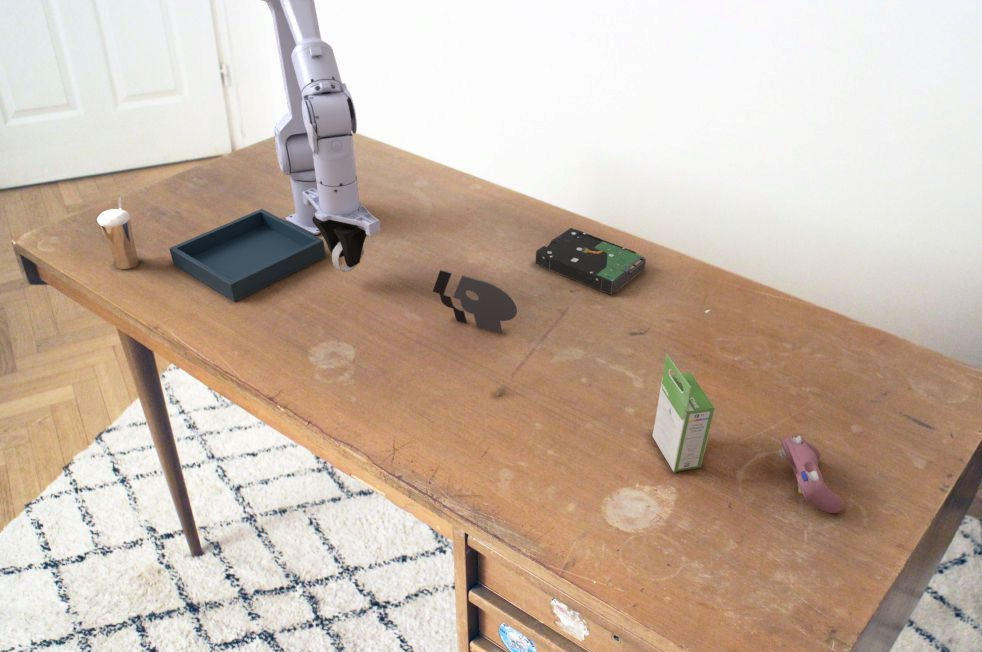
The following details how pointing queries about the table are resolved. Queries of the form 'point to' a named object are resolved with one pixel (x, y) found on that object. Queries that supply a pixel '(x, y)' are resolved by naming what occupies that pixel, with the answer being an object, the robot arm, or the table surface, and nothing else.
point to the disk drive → (590, 260)
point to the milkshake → (119, 236)
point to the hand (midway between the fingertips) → (346, 260)
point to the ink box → (682, 419)
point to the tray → (247, 254)
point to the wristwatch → (337, 262)
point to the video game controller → (809, 474)
